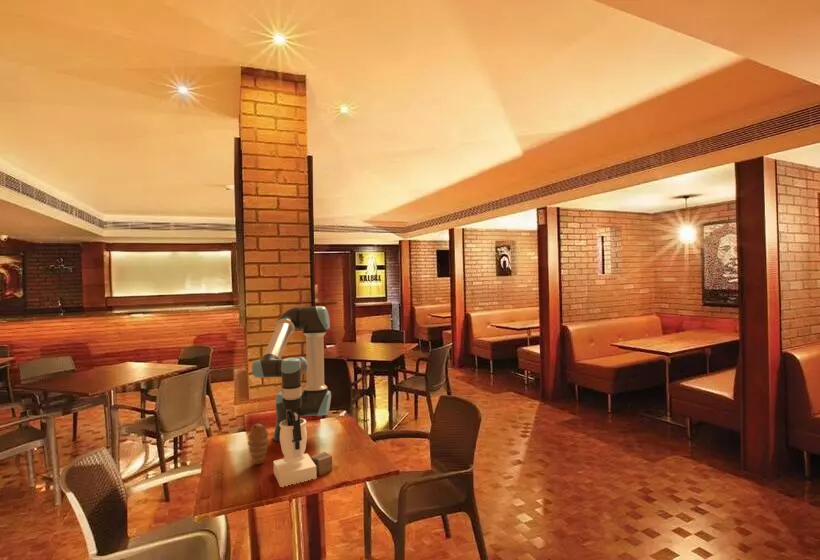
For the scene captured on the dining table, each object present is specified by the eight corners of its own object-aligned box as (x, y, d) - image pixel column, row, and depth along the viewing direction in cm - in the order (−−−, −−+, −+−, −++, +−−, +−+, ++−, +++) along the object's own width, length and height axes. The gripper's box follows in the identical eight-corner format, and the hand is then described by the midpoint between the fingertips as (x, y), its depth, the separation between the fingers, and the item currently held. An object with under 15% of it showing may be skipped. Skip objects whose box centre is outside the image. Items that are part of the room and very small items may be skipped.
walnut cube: (312, 470, 179) (311, 456, 178) (324, 465, 183) (324, 451, 182) (319, 475, 174) (319, 460, 174) (332, 470, 178) (332, 455, 178)
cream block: (273, 472, 177) (273, 460, 177) (307, 464, 184) (307, 453, 183) (280, 487, 165) (280, 474, 165) (316, 478, 171) (316, 466, 171)
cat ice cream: (256, 470, 180) (255, 427, 180) (244, 466, 184) (242, 424, 184) (273, 461, 188) (271, 420, 187) (261, 458, 192) (259, 417, 191)
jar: (312, 454, 178) (310, 418, 177) (300, 465, 168) (298, 427, 167) (288, 452, 180) (287, 416, 180) (275, 463, 170) (274, 425, 170)
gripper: (277, 391, 182) (278, 443, 182) (288, 406, 161) (290, 465, 162) (295, 389, 185) (296, 440, 186) (308, 403, 165) (310, 460, 166)
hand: (294, 451), depth 174 cm, fingers closed on jar, 10 cm apart
